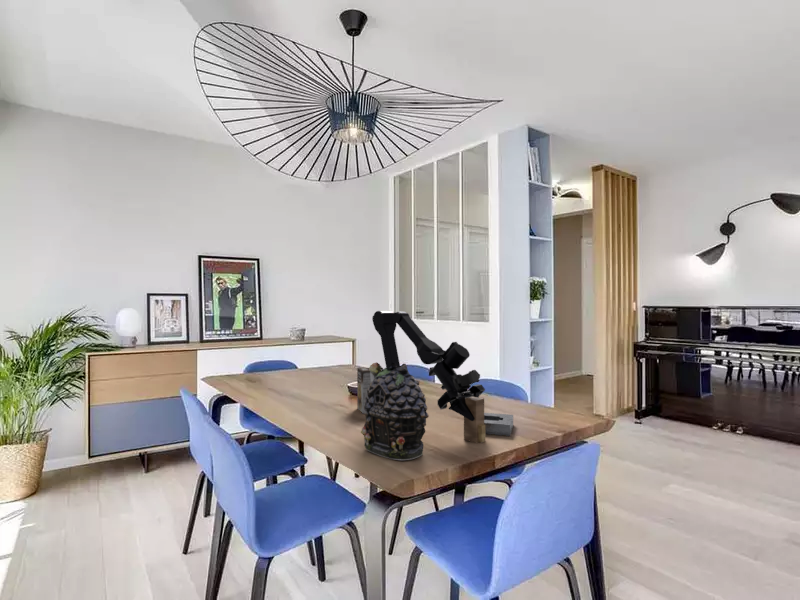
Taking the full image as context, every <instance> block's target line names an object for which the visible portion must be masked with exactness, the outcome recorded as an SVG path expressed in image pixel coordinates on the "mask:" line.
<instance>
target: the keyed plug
mask: <svg viewBox="0 0 800 600" xmlns="http://www.w3.org/2000/svg"><path fill="white" fill-rule="evenodd" d="M465 403H466V405H467V406H468V408H469V410H470V411H471V413H472V414H473V416H474V418H475V420H474V421H471V420H469V419H467V418H466V417H464V416H463V440H464V441H467V442H471V443H475V442H477V443H481V442H483V443H485V442H486V434H485V424H484V413H485V398H483V397H479V398H478V397H468V398H465ZM484 441H485V442H484Z"/></svg>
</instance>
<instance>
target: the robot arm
mask: <svg viewBox="0 0 800 600" xmlns="http://www.w3.org/2000/svg"><path fill="white" fill-rule="evenodd" d="M372 324H373V327H374V330H375V331H376V332H377V333H378V335H379V337H380V340H381V347H382V351H383V356H384V363H385V368H386V367H387V366H388V367H387V369H388V368H390V367H391V363H395V364H396V363H397V364H396V365H398V366H401V364H400V359H399V353H398V348H397V343H396V339H395V337H396V336H395V332H396V329H397V325H398V327H399V328H400V329H401V330H402V332H404V334H405V335H406V336H407V337H408V339H409V340H410V341H411V342H412V343H413V345H414V347H415V348H416V354H417V355H418V357H419V359H420V361H421V363H423V364H424V365H433V364H435V365H434V366H433V367H429V372H428V376H429V377H433V376H435V377H436V378H437V379H438V381H439V382H440V383H441V386H440V388H441V389H442V390H443V391H444V390H446V391H445V392H444V393H443V394H442V395H441V396H440V397H439V398H438V399H437V406H438V408H439V409H440V410H445V409H447V408H448V410H449V411H453V412H455V413H457V414H458V415H460V416H462V417H463V418H464V417H466V418H467V419H469V420H471V421H474V420H475V418H474V416H473V414H472V413H471V411H470V410H469V408H468V406H467V405H466V403H465V398H468V397H478V398H480V396H481V395H482V394H483V392H485V391H486V388H485V387H484V386H483V384H480V378H481V374H480V373H479V372H478V371H477V370H476V369H472V370H470V371H468V373H467V372H466V373H465V374H457V372H456V371H455V369H456V370H458V369H459V368H460V367H461V366H462V365H463V364H464V363H465V362H466V361H467V359H468V358H469V357H470V355H471V354H470V352H469V349H467V348H466V347H465V346H463V345H461V344H459V343H458V341H452V342H451V343H450V345H449V347H448V348H447V349H446V350H444V349H443V347H441V346H440V345H439V344H438V343H436V342H435V341H433V340H431V339H429V338H428V337H427V336H426V335H425V333H423V331H422V329H420V328H419V326H418V325H417V324H416V323H415V321H414V320H413V319H412V318H411V316H410V314H409V313H408V312H406V311H396V312H394V311H392V310H377V311H375V312H374V313H373V315H372ZM475 383H479V384H475ZM472 384H474V385H472ZM448 403H449V405H450V406H449V407H448Z"/></svg>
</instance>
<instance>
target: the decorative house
mask: <svg viewBox="0 0 800 600" xmlns="http://www.w3.org/2000/svg"><path fill="white" fill-rule="evenodd" d="M396 364H397V363H396ZM396 364H395V363H391V367H390V368H388V369H387V367H388V366H387V367H386V366H385V367H382V365H380V363H378V362H373V363H372V364H371V365H369V367H368V368H369V370H370V379H371V383H370V387H369V388H368V389H367V396H366V399H365V406H364V410H365V413H364V415H365V423H364V425H363V427H362V429H361V431H360V434H362V435H363V438H364V448H365V450H366V451H368V452H370V453H372V454H374V455H377V456H379V457H384V458H386V459H390V460H394V461H395V460H396V461H410V460H414V459H416V458H419V457H421V456H423V454H424V442H423V440H422V439H423V436H424V435H425V434H426V428H425V427H426V426H427V419H428V418H429V417H430V415H429V414H428V412H427V411H428V406H427V404H426V402H427V401H426V399H427V398H426V397H425V395H426V394H424V393H423V390H422V388H421V387H420V381H419V380H416V379H415V377H414V376H413V375H412V374H410V372H409V369H408V366H407V364H406V363H403V364H400V366H398V365H396Z"/></svg>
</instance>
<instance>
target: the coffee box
mask: <svg viewBox="0 0 800 600" xmlns="http://www.w3.org/2000/svg"><path fill="white" fill-rule="evenodd" d="M356 370H357V371H356V373H357V379H356V381H357V391H356V393H357V394H356V395H357V396H356V397H357V401H356V402H357V403H356V405H357V407H356V408H357V410H358V411H359V410H360V411H361V412H362V413H361V412H360V411H359V412H360V413H361V414H365V410H364V406H365V399H366V396H367V389H368V388H369V387H370V383H371V379H370V370H369V367H357V368H356Z"/></svg>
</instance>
